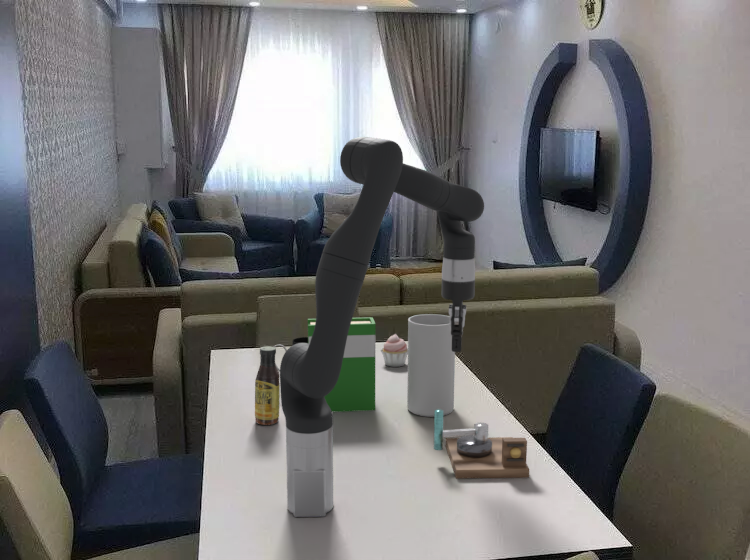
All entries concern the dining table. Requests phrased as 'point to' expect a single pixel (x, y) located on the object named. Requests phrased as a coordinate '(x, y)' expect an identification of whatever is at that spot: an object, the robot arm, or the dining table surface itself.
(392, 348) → the cupcake
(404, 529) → the dining table surface
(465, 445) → the lever
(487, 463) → the stand
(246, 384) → the dining table surface
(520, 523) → the dining table surface
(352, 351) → the hardback book
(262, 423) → the sauce bottle
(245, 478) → the dining table surface
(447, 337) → the cylinder vase
